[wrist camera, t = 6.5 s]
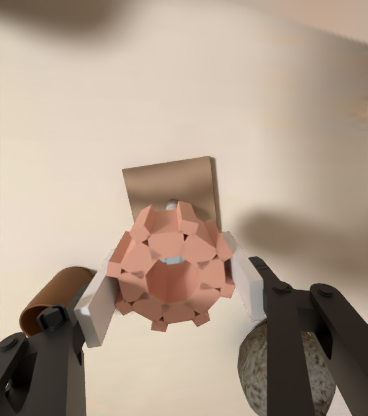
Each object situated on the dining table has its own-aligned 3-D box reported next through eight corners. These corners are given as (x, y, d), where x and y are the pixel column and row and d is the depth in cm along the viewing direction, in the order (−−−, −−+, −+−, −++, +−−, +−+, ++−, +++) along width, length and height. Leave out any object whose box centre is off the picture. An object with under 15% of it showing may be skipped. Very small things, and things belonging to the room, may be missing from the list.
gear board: (123, 169, 31) (110, 173, 24) (208, 156, 32) (218, 157, 25) (151, 290, 38) (147, 320, 31) (221, 279, 38) (232, 307, 31)
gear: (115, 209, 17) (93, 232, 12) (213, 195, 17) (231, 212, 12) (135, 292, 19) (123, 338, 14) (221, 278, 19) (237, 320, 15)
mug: (124, 286, 38) (109, 329, 29) (106, 313, 39) (87, 362, 30) (66, 258, 35) (29, 294, 26) (49, 288, 37) (9, 332, 28)
